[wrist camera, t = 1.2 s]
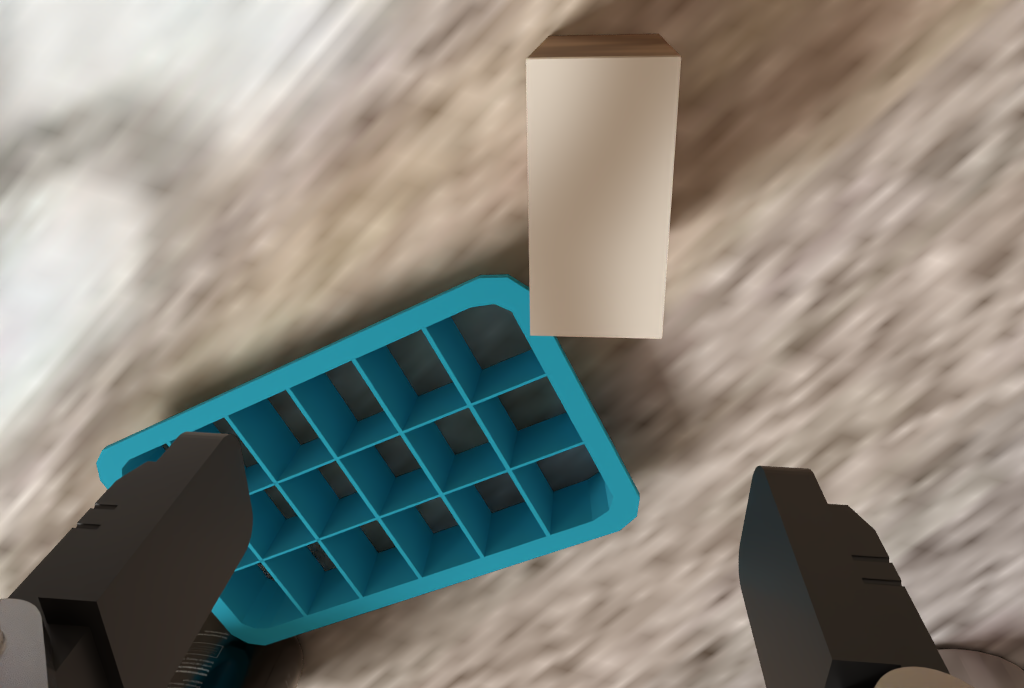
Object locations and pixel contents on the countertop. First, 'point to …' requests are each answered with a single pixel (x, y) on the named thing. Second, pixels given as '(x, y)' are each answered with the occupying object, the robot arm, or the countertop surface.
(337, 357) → the ice cube tray
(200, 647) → the supplement bottle
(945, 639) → the countertop surface
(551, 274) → the brown wooden block
